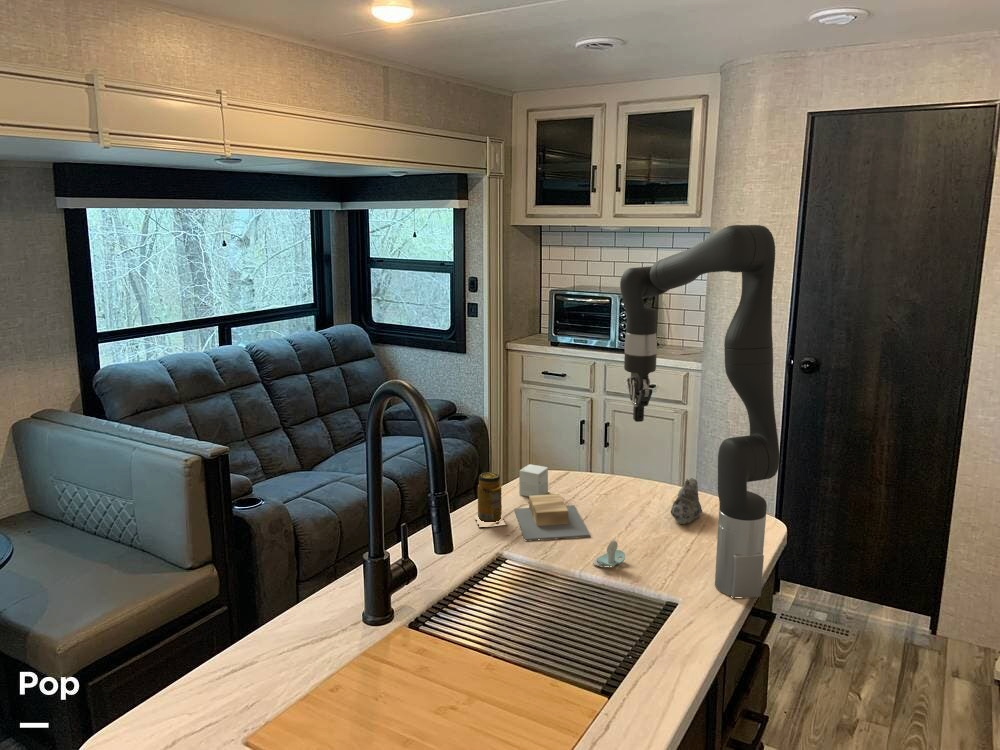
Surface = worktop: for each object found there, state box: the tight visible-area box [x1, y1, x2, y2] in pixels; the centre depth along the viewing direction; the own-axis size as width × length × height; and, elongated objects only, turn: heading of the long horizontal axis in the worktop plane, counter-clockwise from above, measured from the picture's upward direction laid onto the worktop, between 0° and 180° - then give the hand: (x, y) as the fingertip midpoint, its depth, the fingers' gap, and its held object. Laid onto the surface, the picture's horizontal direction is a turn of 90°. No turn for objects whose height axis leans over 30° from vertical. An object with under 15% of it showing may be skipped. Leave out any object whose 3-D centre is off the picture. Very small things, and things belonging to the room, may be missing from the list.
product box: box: [518, 463, 549, 498], centre depth 211 cm, size 6×6×7 cm
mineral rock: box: [670, 477, 703, 525], centre depth 195 cm, size 13×11×10 cm
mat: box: [513, 504, 591, 541], centre depth 193 cm, size 18×16×1 cm
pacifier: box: [592, 539, 626, 568], centre depth 172 cm, size 7×6×6 cm
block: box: [528, 493, 568, 526], centre depth 196 cm, size 4×8×11 cm
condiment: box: [477, 471, 503, 522], centre depth 194 cm, size 7×8×12 cm
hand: (638, 420), depth 186 cm, fingers closed
